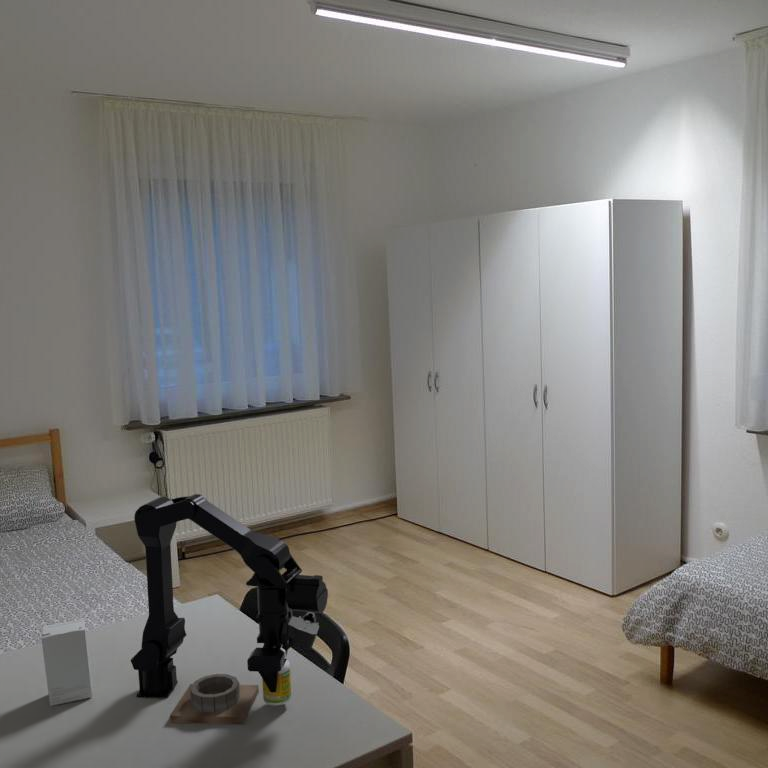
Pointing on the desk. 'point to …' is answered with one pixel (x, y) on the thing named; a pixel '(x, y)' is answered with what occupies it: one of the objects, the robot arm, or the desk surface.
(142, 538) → the robot arm
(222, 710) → the collar board
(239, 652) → the desk surface
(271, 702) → the supplement bottle
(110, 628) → the desk surface
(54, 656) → the skincare box
